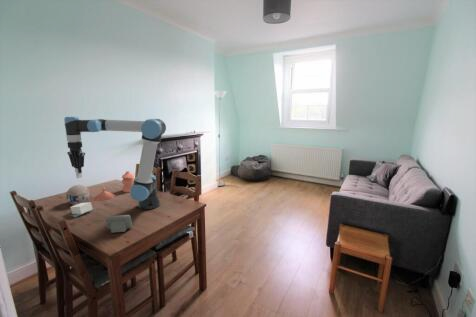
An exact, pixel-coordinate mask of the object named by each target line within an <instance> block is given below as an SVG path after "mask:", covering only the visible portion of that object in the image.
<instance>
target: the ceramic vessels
mask: <svg viewBox="0 0 476 317" xmlns="http://www.w3.org/2000/svg"><path fill="white" fill-rule="evenodd" d="M134 176H135V175H134V174H133V173H131V172H130V170H128V171H125V173H124V174H122V176H121V178H122V180H121V183H122V185H123V187H122V191H123V193H130V189H131V187H132V186H133V183H134V178H135V177H134ZM101 190H102V192H100V193H98V194H97V195H96V196H93V198H92V199H93V201H96V202H103V201H109V200H112V199H114V198H115V197H116V193H113V192H109V191H106V187H102V188H101Z"/></svg>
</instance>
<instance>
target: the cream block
mask: <svg viewBox="0 0 476 317" xmlns="http://www.w3.org/2000/svg"><path fill="white" fill-rule="evenodd" d="M92 208H93V205H92V202H90V201H89V202H88V201H87V202H86V203H79V204H77V205H72V206H69V209H70V213H71V214H82V213H84V214H86V213H85V212H87V211H89V212H91V211H93V210H92ZM90 210H91V211H90ZM87 213H88V212H87ZM82 215H83V214H82Z"/></svg>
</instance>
